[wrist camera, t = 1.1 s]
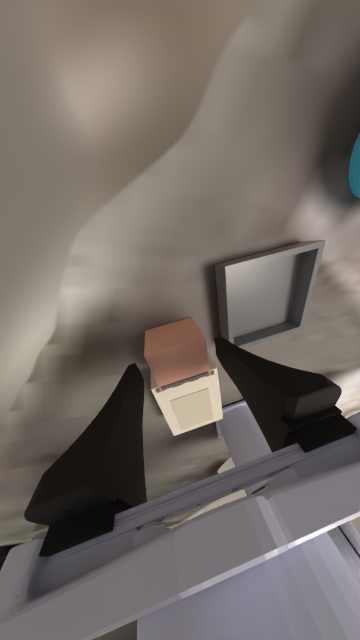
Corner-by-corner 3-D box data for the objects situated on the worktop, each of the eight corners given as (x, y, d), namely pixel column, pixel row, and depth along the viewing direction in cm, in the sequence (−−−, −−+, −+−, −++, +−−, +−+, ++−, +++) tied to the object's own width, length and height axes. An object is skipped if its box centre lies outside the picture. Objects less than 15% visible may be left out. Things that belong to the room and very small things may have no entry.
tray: (287, 321, 17) (302, 329, 16) (221, 341, 17) (229, 352, 15) (302, 241, 13) (325, 240, 11) (214, 264, 13) (225, 266, 11)
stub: (197, 348, 17) (211, 375, 13) (157, 361, 16) (160, 392, 13) (191, 316, 15) (205, 337, 11) (145, 330, 14) (144, 356, 11)
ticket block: (214, 398, 21) (223, 419, 19) (171, 412, 21) (174, 436, 18) (206, 349, 17) (217, 368, 14) (150, 367, 16) (151, 390, 14)
